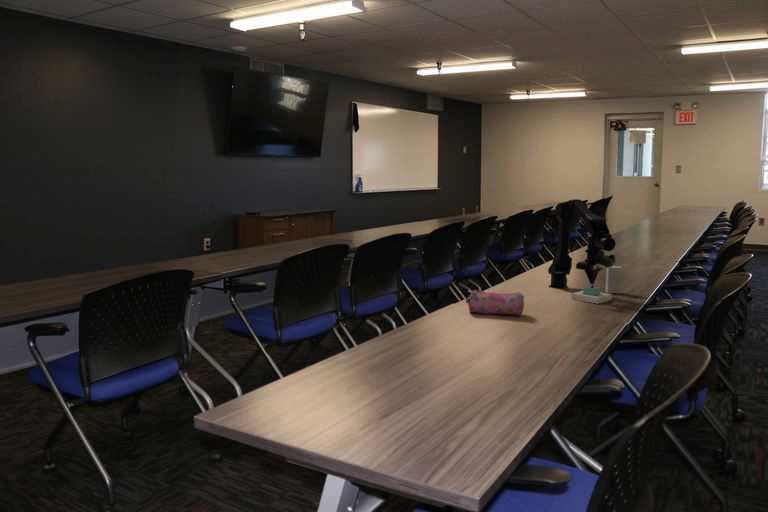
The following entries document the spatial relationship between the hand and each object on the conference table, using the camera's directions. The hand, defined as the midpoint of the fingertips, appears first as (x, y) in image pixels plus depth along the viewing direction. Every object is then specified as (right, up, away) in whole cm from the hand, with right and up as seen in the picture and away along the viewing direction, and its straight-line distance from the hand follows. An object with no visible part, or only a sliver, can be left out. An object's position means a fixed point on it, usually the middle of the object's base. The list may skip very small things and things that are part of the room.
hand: (592, 284), depth 259 cm
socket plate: (0, -7, +1) cm, 7 cm away
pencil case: (-46, -11, -26) cm, 54 cm away
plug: (0, -6, +1) cm, 6 cm away
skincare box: (+15, -5, +16) cm, 22 cm away
